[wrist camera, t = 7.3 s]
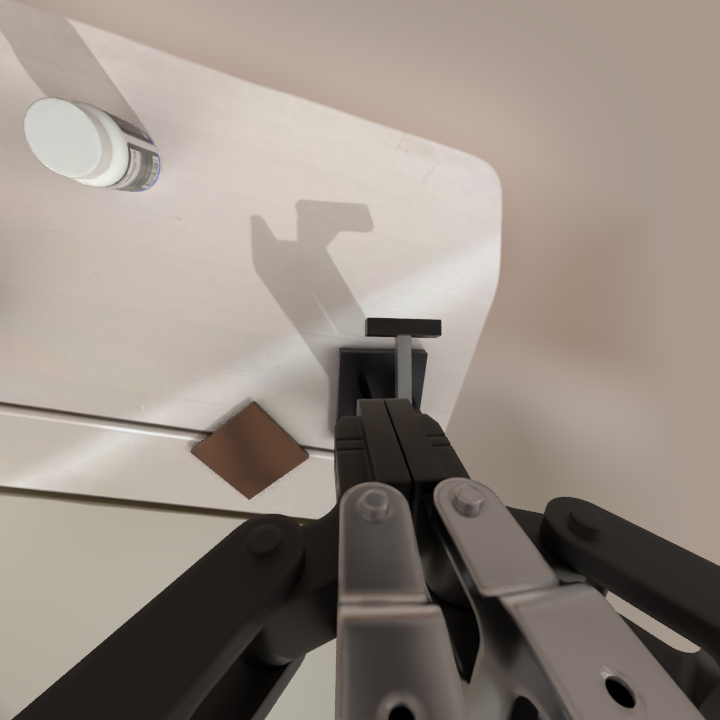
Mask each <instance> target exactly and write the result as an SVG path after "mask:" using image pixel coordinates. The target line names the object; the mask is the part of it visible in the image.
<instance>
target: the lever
mask: <svg viewBox="0 0 720 720" xmlns="http://www.w3.org/2000/svg"><path fill="white" fill-rule="evenodd" d="M365 336H368V337H395V398H408V399H409V401H410V403H411V405H412V377H411V337H413V338H437V337H439V336H441V320H432V319H398V318H367V319H366V320H365Z"/></svg>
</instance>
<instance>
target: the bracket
mask: <svg viewBox="0 0 720 720" xmlns="http://www.w3.org/2000/svg"><path fill="white" fill-rule="evenodd" d="M427 355H428V354H427V352H426V351H425V350H411V377H412V407H413V409H414V411H415V413H416V414H422V413H421V411H420V404H421V397H422V390H423V383H424V376H425V369H426V362H427ZM390 398H395V349H353V348H339V366H338V389H337V413H336V424H337V422H338V421H339V419H340V417H343V416H356V414H357V400H358V399H390Z"/></svg>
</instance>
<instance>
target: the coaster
mask: <svg viewBox="0 0 720 720" xmlns="http://www.w3.org/2000/svg"><path fill="white" fill-rule="evenodd" d="M190 452H191V453H192V454H193V455H195V456H196V457H197V458H198V459H199V460H201V461H202V462H203V463H204V464H206V465H207V466H208V467H209V468H211V469H212V470H213V471H214V472H215V473H217V474H218V475H219V476H220V477H222V478H223V479H224V480H225V481H227V482H228V483H229V484H230V485H231V486H233V487H234V488H235V489H236V490H238V491H239V492H240V493H241V494H242V495H244V496H245V497H246V498H247V499H249V500H250V499H251V498H253V497H254V496H255V495H257V494H258V493H260V492H261V491H262V490H264V489H265V488H267V487H268V486H270V485H271V484H272V483H274V482H275V481H277V480H278V479H279V478H281V477H282V476H284V475H285V474H287V473H288V472H289V471H291V470H292V469H294V468H295V467H297V466H298V465H299V464H301V463H302V462H304V461H305V460H306V459H308V458H309V454H308V453H307V452H306V451H305V450H304V449H303V448H302V447H301V446H300V445H299V444H298V443H297V442H296V441H295V440H293V439H292V438H291V437H290V436H289V435H288V434H287V433H286V432H285V431H284V430H283V429H282V428H281V427H280V426H279V425H278V424H277V423H276V422H275V421H274V420H273V419H272V418H271V417H270V416H269V415H268V414H267V413H266V412H264V411H263V410H262V409H261V408H260V407H259V406H258V405H257V404H256V403H255V402H253V403H252V404H251V405H249V406H248V407H247V408H245V409H244V410H243V411H241V412H240V413H239V414H237V415H236V416H235V417H233V418H232V419H231V420H229V421H228V422H227V423H225V424H224V425H223V426H221V427H220V428H219V429H217V430H216V431H215V432H213V433H212V434H211V435H209V436H208V437H207V438H205V439H204V440H203V441H201V442H200V443H199V444H197V445H196V446H195V447H193V448H192V449H191V451H190Z"/></svg>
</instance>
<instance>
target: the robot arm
mask: <svg viewBox="0 0 720 720" xmlns="http://www.w3.org/2000/svg"><path fill="white" fill-rule="evenodd" d="M334 472H335V487H336V502H337V504H336V505H335V507H334V508H333V509H332V510H331V511H330V512H329V513H328V514H327V515H325V516H324V517H322V518H320V519H318V520H316V521H313V522H311V523H308V524H305V525H302V526H300V525H299V524H298V523H297V522H296V521H295V520H293V519H292V518H290V517H288V516H285V515H281V514H265V515H260V516H256V517H254V518H251V519H249V520H247V521H246V522H244V523H242V524H241V525H240V526H238V527H237V528H236V529H235V530H233V531H232V532H231V533H230V534H229V535H228V536H226V537H225V538H224V539H223V540H222V541H221V542H219V544H217V545H216V546H215V547H214V548H213V549H211V550H210V551H209V552H208V553H207V554H205V555H204V556H203V557H202V558H201V559H199V560H198V561H197V562H196V563H195V564H194V565H192V566H191V567H190V568H189V569H188V570H187V571H185V572H184V573H183V574H182V575H181V576H180V577H178V578H177V579H176V580H175V581H174V582H172V583H171V584H170V585H169V586H168V587H167V588H165V590H163V591H162V592H161V593H160V594H158V595H157V596H156V597H155V598H154V599H153V600H151V601H150V602H149V603H148V604H147V605H145V606H144V607H143V608H142V609H141V610H140V611H139V612H138V613H136V614H135V615H134V616H133V617H131V618H130V619H129V620H128V621H127V622H126V623H124V624H123V625H122V626H121V627H120V628H119V629H117V630H116V631H115V632H114V633H113V634H111V635H110V636H109V637H108V638H107V639H106V640H104V641H103V642H102V643H101V644H100V645H99V646H97V647H96V648H95V649H94V650H93V651H92V652H90V653H89V654H88V655H87V656H86V657H84V658H83V659H82V660H81V661H80V662H79V663H77V664H76V665H75V666H74V667H73V668H72V669H70V670H69V671H68V672H67V673H66V674H65V675H63V676H62V677H61V678H60V679H59V680H58V681H56V682H55V683H54V684H53V685H52V686H51V687H49V688H48V689H47V690H46V691H45V692H43V693H42V694H41V695H40V696H39V697H38V698H36V699H35V700H34V701H33V702H32V703H30V704H29V705H28V706H27V707H26V708H25V709H23V710H22V711H21V712H20V713H19V714H18V715H17V716H15V717H14V718H13V719H12V720H264V719H265V718H266V717H267V715H268V714H269V712H270V711H271V709H272V707H273V706H274V704H275V703H276V701H277V700H278V698H279V697H280V695H281V694H282V692H283V691H284V689H285V688H286V686H287V685H288V683H289V682H290V680H291V679H292V677H293V676H294V674H295V673H296V671H297V670H298V668H299V667H300V665H301V663H302V661H303V660H304V658H305V655H306V653H308V652H310V651H312V650H314V649H315V648H317V647H319V646H321V645H323V644H325V643H327V642H329V641H331V640H333V639H335V638H337V644H336V648H337V649H336V688H335V689H336V692H335V720H720V566H718V565H716V564H714V563H712V562H710V561H708V560H706V559H704V558H702V557H700V556H698V555H696V554H694V553H692V552H690V551H688V550H686V549H684V548H682V547H680V546H678V545H676V544H674V543H671V542H669V541H667V540H665V539H663V538H661V537H659V536H657V535H655V534H653V533H651V532H649V531H647V530H645V529H643V528H641V527H639V526H637V525H635V524H633V523H631V522H629V521H627V520H625V519H623V518H621V517H619V516H617V515H615V514H613V513H610V512H608V511H607V510H604V509H602V508H600V507H598V506H596V505H594V504H592V503H590V502H587V501H584V500H581V499H577V498H571V497H558V498H555V499H553V500H551V501H550V502H549V503H548V504H547V506H546V509H545V512H544V514H541V513H536V512H531V511H526V510H520V509H516V508H511V507H508V506H505V505H504V504H503V503H502V501H501V500H500V499H499V497H498V496H497V495H496V494H495V493H494V492H493V491H492V490H491V489H490V488H488V487H487V486H485V485H484V484H482V483H480V482H477V481H474V480H471V478H470V477H469V475H468V473H467V471H466V470H465V468H464V466H463V464H462V463H461V461H460V459H459V458H458V456H457V454H456V452H455V451H454V449H453V447H452V446H451V445H450V442H449V440H448V439H447V437H445V434H444V432H443V430H442V428H441V427H440V425H439V423H438V422H436V421H435V420H434V419H432V418H431V417H430V416H428V415H427V414H416V413H415V411H414V409H413V407H412V405H411V403H410V401H409V399H408V398H390V399H358V400H357V414H356V416H343V417H340V419H339V421H338V422H337V424H336V425H335V446H334ZM608 591H610V592H612V593H614V594H615V595H617V596H618V597H620V598H621V599H623V600H625V601H626V602H628V603H630V604H631V605H633V606H634V607H636V608H638V609H639V610H641V611H643V612H644V613H646V614H647V615H649V616H651V617H652V618H654V619H655V620H657V621H659V622H660V623H662V624H664V625H665V626H667V627H668V628H670V629H672V630H673V631H675V632H676V633H678V634H680V635H681V636H683V637H685V638H686V639H688V640H690V641H691V642H693V643H694V644H696V645H697V646H699V647H701V649H700V650H699V651H698V652H695V653H685V652H682V651H679V650H676V649H674V648H672V647H670V646H669V645H667V644H666V643H664V642H663V641H661V640H659V639H658V638H656V637H655V636H653V635H652V634H650V633H649V632H647V631H646V630H644V629H642V628H641V627H639V626H638V625H636V624H635V623H633V622H632V621H630V620H628V619H627V618H625V617H624V616H622V615H621V614H619V613H618V612H616V611H615V609H614V608H613V607H612V606H611V604H610V603H609V602H608V601H607V600H606V599H605V598H606V595H607V593H608Z"/></svg>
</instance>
